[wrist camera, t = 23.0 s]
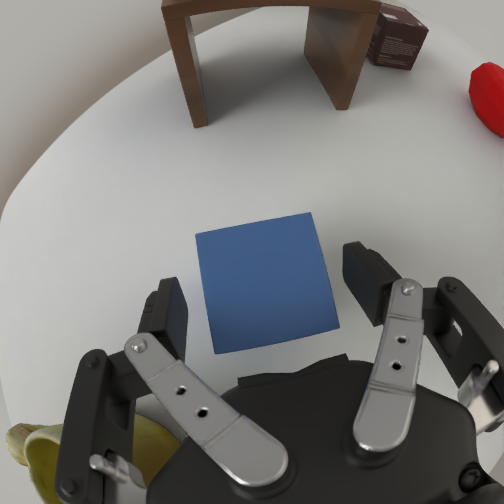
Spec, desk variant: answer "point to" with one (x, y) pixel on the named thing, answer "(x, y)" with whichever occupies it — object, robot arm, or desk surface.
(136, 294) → the desk surface
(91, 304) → the desk surface
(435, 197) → the desk surface
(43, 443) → the mug
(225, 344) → the carton
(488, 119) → the apple
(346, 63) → the chair
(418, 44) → the box
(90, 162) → the desk surface
